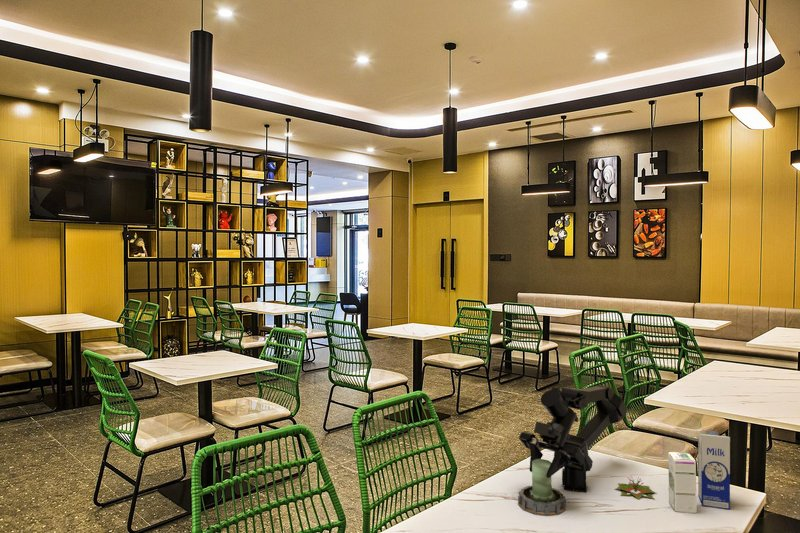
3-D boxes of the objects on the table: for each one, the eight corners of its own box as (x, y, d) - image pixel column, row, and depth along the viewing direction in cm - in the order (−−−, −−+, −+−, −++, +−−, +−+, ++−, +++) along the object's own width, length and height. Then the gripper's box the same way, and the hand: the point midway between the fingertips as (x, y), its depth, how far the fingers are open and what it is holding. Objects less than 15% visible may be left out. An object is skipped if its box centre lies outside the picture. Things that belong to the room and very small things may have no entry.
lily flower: (654, 487, 163) (654, 471, 163) (661, 504, 152) (661, 488, 152) (611, 482, 167) (611, 468, 167) (615, 499, 155) (615, 483, 155)
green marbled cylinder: (545, 491, 155) (545, 456, 155) (559, 501, 149) (559, 465, 149) (524, 494, 153) (524, 459, 153) (538, 505, 147) (537, 468, 147)
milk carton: (701, 505, 150) (701, 434, 149) (697, 495, 156) (697, 426, 156) (730, 509, 147) (730, 436, 147) (725, 499, 153) (725, 429, 153)
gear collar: (565, 497, 155) (565, 487, 155) (565, 518, 143) (565, 507, 143) (520, 492, 159) (520, 482, 159) (516, 512, 147) (516, 501, 147)
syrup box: (697, 513, 145) (697, 460, 145) (673, 511, 146) (673, 458, 146) (690, 504, 151) (690, 452, 150) (667, 502, 152) (667, 451, 152)
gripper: (521, 404, 160) (498, 450, 153) (579, 417, 146) (556, 469, 139) (537, 424, 166) (516, 470, 158) (594, 439, 152) (573, 490, 144)
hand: (538, 474), depth 150 cm, fingers closed on green marbled cylinder, 5 cm apart
